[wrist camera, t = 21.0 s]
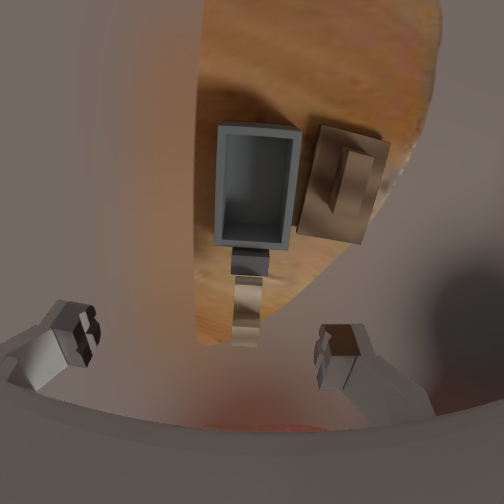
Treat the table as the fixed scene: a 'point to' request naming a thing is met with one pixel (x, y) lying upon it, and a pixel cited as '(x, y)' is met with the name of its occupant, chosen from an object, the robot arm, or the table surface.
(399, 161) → the table surface
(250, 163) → the toolbox
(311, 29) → the table surface
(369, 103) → the table surface
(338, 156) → the toolbox lid
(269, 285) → the table surface
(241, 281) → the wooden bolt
